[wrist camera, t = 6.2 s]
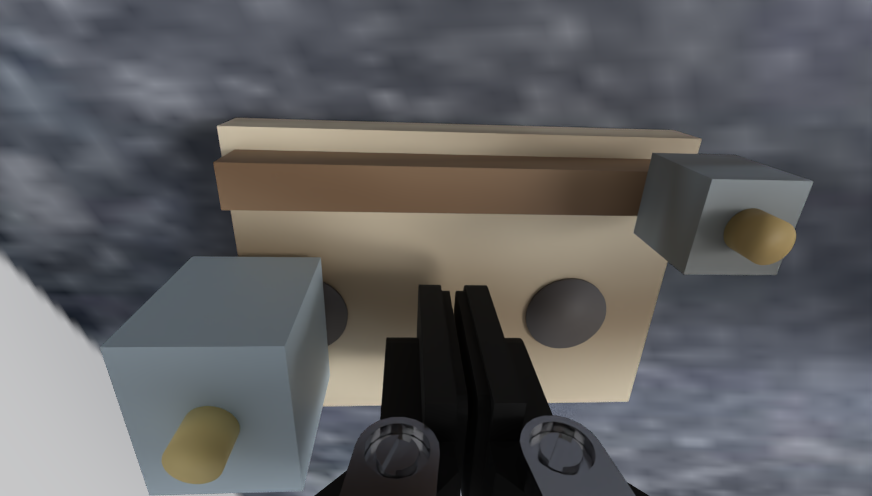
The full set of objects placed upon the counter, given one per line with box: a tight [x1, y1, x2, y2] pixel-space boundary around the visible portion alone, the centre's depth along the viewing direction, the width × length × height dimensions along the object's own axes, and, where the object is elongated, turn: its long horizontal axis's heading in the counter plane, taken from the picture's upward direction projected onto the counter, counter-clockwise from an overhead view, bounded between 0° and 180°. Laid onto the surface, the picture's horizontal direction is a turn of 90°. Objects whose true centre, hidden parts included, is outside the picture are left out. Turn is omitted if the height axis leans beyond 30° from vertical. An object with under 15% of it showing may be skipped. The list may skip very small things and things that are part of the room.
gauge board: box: [213, 118, 814, 406], centre depth 11 cm, size 8×11×5 cm
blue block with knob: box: [100, 256, 330, 495], centre depth 9 cm, size 4×3×4 cm
